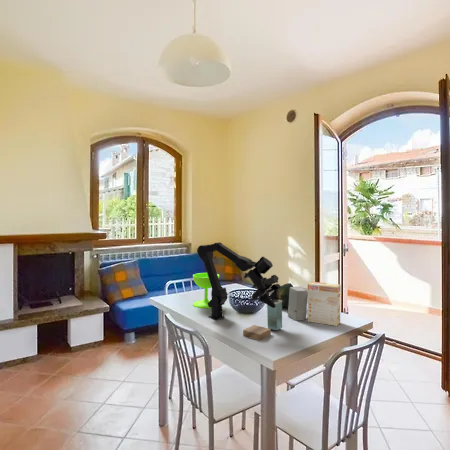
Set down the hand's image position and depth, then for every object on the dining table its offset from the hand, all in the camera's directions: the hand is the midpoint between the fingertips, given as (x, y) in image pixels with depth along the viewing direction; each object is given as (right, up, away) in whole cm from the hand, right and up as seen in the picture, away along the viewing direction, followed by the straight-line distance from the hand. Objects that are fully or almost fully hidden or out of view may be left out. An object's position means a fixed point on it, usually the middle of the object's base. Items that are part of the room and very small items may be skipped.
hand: (277, 306), depth 156 cm
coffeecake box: (+26, -11, +12) cm, 30 cm away
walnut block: (-10, -12, -7) cm, 17 cm away
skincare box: (+14, -11, +18) cm, 25 cm away
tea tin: (-1, -10, +1) cm, 11 cm away
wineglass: (-36, -10, +44) cm, 58 cm away
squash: (+11, -10, +40) cm, 43 cm away
